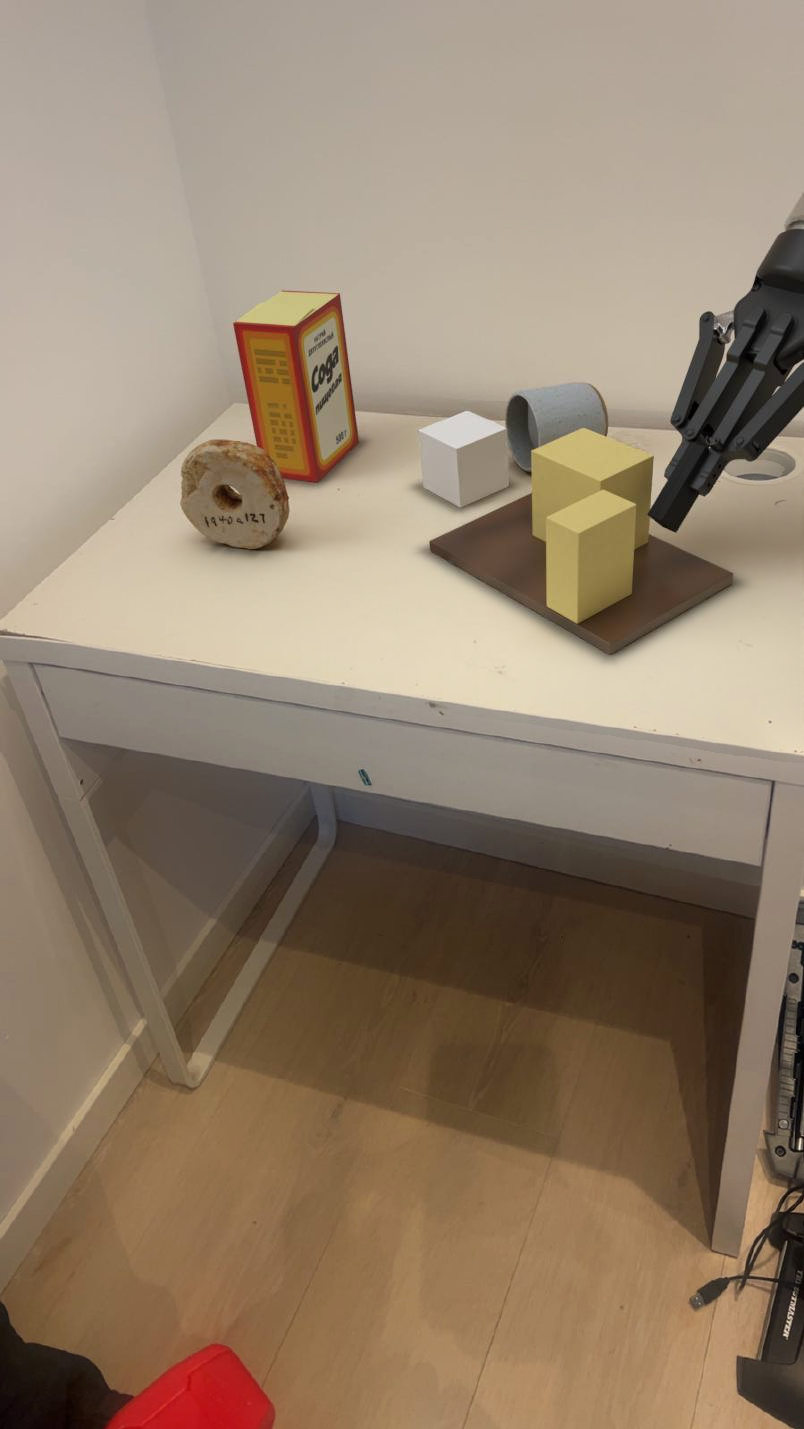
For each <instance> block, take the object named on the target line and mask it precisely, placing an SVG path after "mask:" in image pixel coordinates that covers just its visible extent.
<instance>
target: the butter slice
mask: <svg viewBox="0 0 804 1429" xmlns="http://www.w3.org/2000/svg"><path fill="white" fill-rule="evenodd" d="M635 523H636V504H635V503H633V502H630V501H628V500H626V499H624V498H621V497H619V496H617V495H614V494H612V493H610V492H608V491H605V490H601V491H599V492H597V493H595V494H593V495H591V496H589V497H587V498H585V499H582V500H580V501H578V502H576V503H574V504H572V505H570V506H568V507H566V508H564V509H562V510H560V511H558V512H556V513H554V514H552V515H550V516H547V517H546V587H547V607H549V608H550V609H552V610H554V611H556V612H557V613H559V614H561V615H563V616H564V617H566V618H568V619H569V620H571V621H573V622H575V623H576V624H578V623H580V622H582V621H584V620H586V619H587V618H589V617H591V616H593V615H595V614H596V613H598V612H600V611H602V610H604V609H605V608H607V607H609V606H611V605H613V604H614V603H616V602H618V601H620V600H622V599H624V598H625V597H627V596H629V595H631V594H632V578H633V560H634V542H635Z"/></svg>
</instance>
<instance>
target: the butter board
mask: <svg viewBox="0 0 804 1429" xmlns="http://www.w3.org/2000/svg"><path fill="white" fill-rule="evenodd" d="M429 551H430V552H431V553H434V554H435V555H437V556H439V557H441V558H442V559H444V560H445V561H447V562H449V563H451V564H453V565H454V566H456V567H457V568H459V569H461V570H463V571H465V572H466V573H468V574H469V575H471V576H474V577H475V578H477V579H478V580H480V581H482V582H483V583H485V584H486V585H489V586H490V587H492V588H494V589H496V590H497V591H499V592H500V593H503V594H504V595H506V596H508V597H509V598H511V599H513V600H515V601H517V602H518V603H520V604H522V605H523V606H525V607H527V608H529V609H530V610H532V611H534V612H536V613H537V614H539V615H540V616H542V617H544V618H545V619H547V620H549V621H551V622H553V623H555V624H556V625H558V626H560V627H561V628H563V629H565V630H567V631H568V632H570V633H572V634H574V635H575V636H577V637H578V638H580V639H582V640H584V641H585V642H587V643H589V644H591V645H593V646H594V647H596V648H598V649H599V650H601V651H602V652H604V653H606V654H608V655H612V654H614V653H617V651H620V650H621V649H623V648H624V647H627V646H628V645H630V644H631V643H633V642H634V641H636V640H639V639H640V638H642V637H643V636H645V635H647V634H648V633H650V632H652V631H654V630H655V629H657V628H659V627H660V626H662V625H663V624H665V623H667V622H669V621H670V620H672V619H674V618H676V617H677V616H679V615H680V614H682V613H684V612H686V611H688V610H689V609H691V608H693V607H695V606H696V605H699V603H701V602H703V601H704V600H706V599H708V598H710V597H711V596H713V595H715V594H717V593H718V592H720V591H722V590H724V589H725V588H727V587H729V586H730V585H732V584H733V581H734V575H735V574H734V572H732V571H730V570H728V569H726V568H724V567H722V566H719V565H717V564H715V563H713V562H710V561H709V560H707V559H704V558H702V557H700V556H697V555H695V554H693V553H691V552H689V551H687V550H685V549H682V548H680V547H679V546H676V545H674V544H671V543H669V542H667V541H665V540H663V539H661V538H658V537H656V536H654V535H652V534H650V533H649V538H648V543H646V544H644V545H642V546H640V547H638V548H637V549H635V550H634V560H633V578H632V594H631V595H629V596H627V597H625V598H624V599H622V600H620V601H618V602H616V603H614V604H613V605H611V606H609V607H607V608H605V609H604V610H602V611H600V612H598V613H596V614H595V615H593V616H591V617H589V618H587V619H586V620H584V621H582V622H580V623H578V624H576V623H575V622H573V621H571V620H569V619H568V618H566V617H564V616H563V615H561V614H559V613H557V612H556V611H554V610H552V609H550V608H549V607H547V587H546V542H545V541H543V540H541V539H539V538H537V537H535V536H533V528H532V492H530V493H528V494H526V495H524V496H522V497H519V498H518V499H515V500H513V501H511V502H509V503H507V504H504V505H502V506H500V507H498V508H497V509H494V510H492V511H490V512H488V513H486V514H483V515H482V516H479V517H477V518H475V519H472V520H471V521H469V522H466V523H465V524H462V525H461V526H459V527H456V528H454V529H452V530H450V531H448V532H446V533H443V534H442V535H439V536H437V537H435V538H433V539H431V540H429Z"/></svg>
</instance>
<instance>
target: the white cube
mask: <svg viewBox="0 0 804 1429" xmlns="http://www.w3.org/2000/svg"><path fill="white" fill-rule="evenodd" d="M417 436H418V444H419V456H420V467H421V468H420V469H421V478H422V488H423V489H425V490H427V491H429V492H431V493H433V494H435V495H436V496H438V497H440V498H441V499H443V500H445V501H447V502H449V503H451V504H453V505H455V506H456V507H458V508H460V509H461V508H463V507H465V506H468V505H470V504H473V503H474V502H478V501H479V500H481V499H485V498H486V497H488V496H491V495H493V494H496V493H498V492H500V491H502V490H504V489H507V488H509V487H510V478H509V476H510V475H509V444H508V440H507V428H506V426H503V425H500V424H499V423H496V422H494V421H492V420H489V419H487V418H485V417H483V416H481V415H479V414H476V413H474V412H472V411H469V410H465V411H462V412H460V413H458V414H455V415H452V416H450V417H447V418H445V419H443V420H440V421H437V422H434V423H432V424H429V425H427V426H425V427H422V428H420V429H417Z"/></svg>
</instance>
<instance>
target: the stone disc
mask: <svg viewBox="0 0 804 1429" xmlns="http://www.w3.org/2000/svg"><path fill="white" fill-rule="evenodd" d="M180 468H181V469H180V476H181V478H182V479H181V483H180V484H181V487H180V489H181V492H180V493H181V498H180V502H179V504H180V508H181V510H182V512H183V514H184V515H185V517H186V518H187V520H188V521H189V522H190V524H191V525H192V526H193V527H194V528H195V529H196V530H197V531H198V532H199V533H200V534H202V535H203V536H204V537H205V538H207V539H209V540H210V541H213V542H215V543H219V544H224V545H228V546H230V547H233V548H237V549H241V548H243V549H247V550H256V549H260V548H262V547H265V546H266V545H269V544H271V542H273V541H274V540H275V539H276V538H277V537H278V536H279V535H280V534H281V532H282V531H283V529H284V527H285V525H286V524H287V522H288V519H289V517H290V511H291V510H290V501H289V499H290V496H289V495H288V490H287V488H286V482H285V480H284V478H283V476H282V473H281V471H280V470H278V469H277V466H276V463H275V462H274V461H273V460H272V459H271V458H270V456H269V455H268V453H267V452H265V451H264V450H263V449H261V448H259V447H257V445H255V444H253V443H249V442H243V441H240V440H232V439H221V438H217V439H216V438H215V439H209V440H207V441H204V442H202V443H200V444H199V445H197V446H196V447H195V448H193V449H192V450H191V451H190V452H189V453H188V454H187V455H186V457H185V458H184V460H183V462H182V465H181V467H180ZM236 491H237V492H236Z"/></svg>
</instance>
